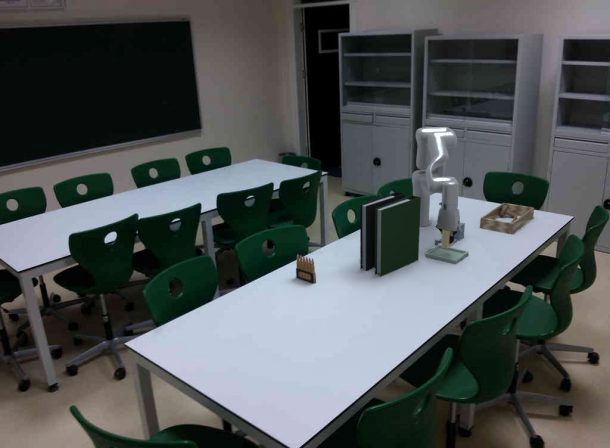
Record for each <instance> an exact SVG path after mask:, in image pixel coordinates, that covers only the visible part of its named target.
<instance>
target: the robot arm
mask: <svg viewBox="0 0 610 448" xmlns="http://www.w3.org/2000/svg"><path fill="white" fill-rule="evenodd" d="M415 139H416V143H417V144H416V145H417V151H416V158H415V159H416V160H415V161H416V162H415V164H416V167H417V169H418V170H415V171H414V172H412V174H411V182H412V195H413V196H418V197H421V203H420V227H424V228H425V227H428V226H430V225H432V224H433V223H432V220H431V219H430V206H431V205H430V203H431V202H430V201H431V194H430V193H433V194H436V193H438V194H439V193H441V201H440V202H439V203H438V205H439V206H440V207H439V209H438V215H437V219H436V225H435V228H436V229H437V230H438V231H439V232H440V234H441V235H442V230H443V229H445V230H450V232H451V236H450V239H449V244H451V243H453V242H454V235H455V234H456V233H459V232H461V231H462V230H461V228H460V223H461V218H460V217H461V215H460V210H459V207H458V205H459V189H460V188H459V187H460V183H459V182H458V180H457V179H456V177H454V176H445V172H446V170H445V169H446V163H447V162H448V161H449V159H450V157H449V152H448V149H451V148H452V149H453V148H455V147H457V144H458V137H457V134H456V132H455V131H454V130H453V129H452V128H450V127H448V126H435V127H433V126H432V127H431V126H430V127H429V126H428V127H419V128H418V129H416V131H415Z"/></svg>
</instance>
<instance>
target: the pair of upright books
mask: <svg viewBox="0 0 610 448" xmlns="http://www.w3.org/2000/svg"><path fill="white" fill-rule="evenodd" d="M420 203H421V197H418V196H413V194H412V195H409V196H406V193H403V192H399V191H394V192H392V193H389V194H387V195H384V196H380V197H378V198H375V199H372V200H370V201H367V202H364V203H360V204H359V207H360V208H359V226H360V227H359V231H360V232H359V233H360V234H359V236H360V237H359V240H360V241H359V243H360V245H359V246H360V247H359V249H360V250H359V252H360V253H359V255H360V258H359V261H360V263H359V264H360V266H359V267H360V270H363V269H365V272H368V271H370V270H372V269H374V275H375V276H376V275H377V274H380V278H381V277H384V276H386V275H388V274H391V273H393V272H395V271H398V270H399V269H403V268H405V267H406V266H409V265H410V264H413V263H415V262H418V261H419V258H420V257H419V256H420V255H419V253H420Z"/></svg>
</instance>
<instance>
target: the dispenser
mask: <svg viewBox="0 0 610 448" xmlns="http://www.w3.org/2000/svg"><path fill="white" fill-rule="evenodd" d="M465 227H466V225H465V223H464V222H460V228H461V230H462V231H461V232H459V233H456V234H455V235H454V244H456V243H457V242H458V241H461V240H462V239H463V238H465V229H466V228H465ZM440 244H442V237H441V238H440V239H434V246H438V245H440Z"/></svg>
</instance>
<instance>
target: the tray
mask: <svg viewBox="0 0 610 448" xmlns="http://www.w3.org/2000/svg"><path fill="white" fill-rule="evenodd" d="M441 246H442V244H441V245H440V244H438V245H435V246H434V247H433V248H432V249H430V250H429V251H427V252H425V254H424V255H425V258H428V259H433V260H437V261H440V262H446V263H449V264H454V265H457V264H458V263H459V262H461V261H463V259H465V258H466V257H468V256H469V251H467V250H463V249H458V248H455V247H449V248H448V249H446V248H441Z"/></svg>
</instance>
